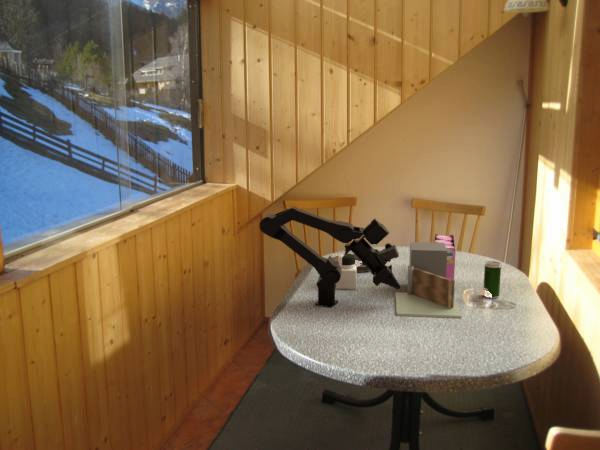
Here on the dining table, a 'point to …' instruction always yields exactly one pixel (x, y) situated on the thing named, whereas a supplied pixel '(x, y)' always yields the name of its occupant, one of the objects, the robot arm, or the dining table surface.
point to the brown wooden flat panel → (433, 287)
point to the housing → (429, 260)
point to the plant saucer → (359, 268)
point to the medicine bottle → (347, 272)
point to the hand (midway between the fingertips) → (399, 288)
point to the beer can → (492, 278)
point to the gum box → (448, 253)
